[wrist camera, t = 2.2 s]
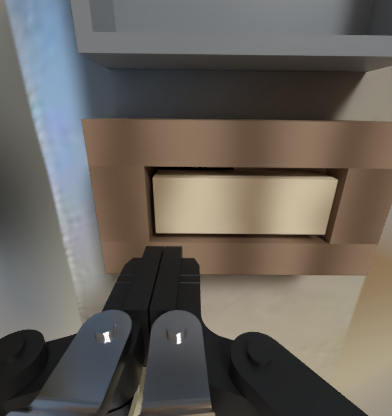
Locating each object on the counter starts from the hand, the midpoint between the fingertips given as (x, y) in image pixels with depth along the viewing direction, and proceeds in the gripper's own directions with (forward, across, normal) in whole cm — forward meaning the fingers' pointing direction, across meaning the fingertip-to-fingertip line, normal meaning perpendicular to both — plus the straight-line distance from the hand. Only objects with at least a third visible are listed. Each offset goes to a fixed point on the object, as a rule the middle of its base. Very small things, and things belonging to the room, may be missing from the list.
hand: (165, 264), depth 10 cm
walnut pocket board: (+12, -4, 0) cm, 13 cm away
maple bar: (+9, -4, 0) cm, 10 cm away
